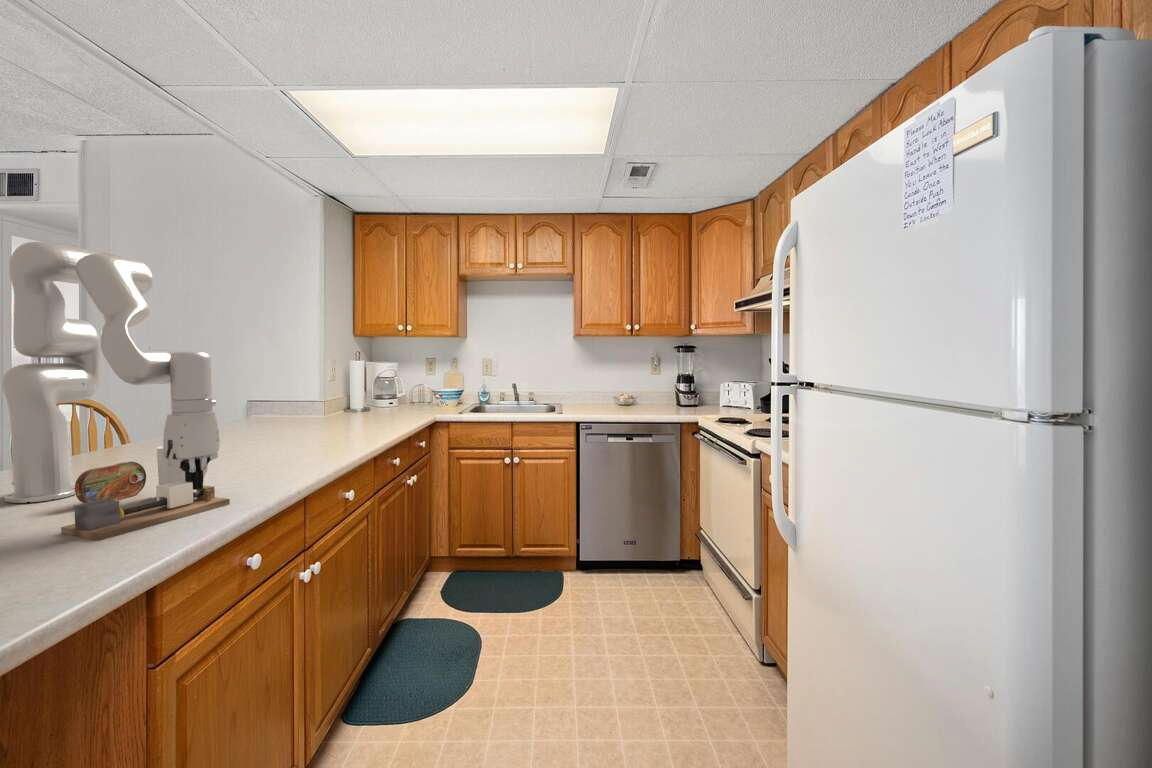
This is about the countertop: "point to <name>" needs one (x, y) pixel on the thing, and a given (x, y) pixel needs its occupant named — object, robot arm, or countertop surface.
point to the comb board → (134, 515)
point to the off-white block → (175, 493)
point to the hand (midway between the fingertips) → (194, 488)
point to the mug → (170, 470)
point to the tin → (110, 482)
